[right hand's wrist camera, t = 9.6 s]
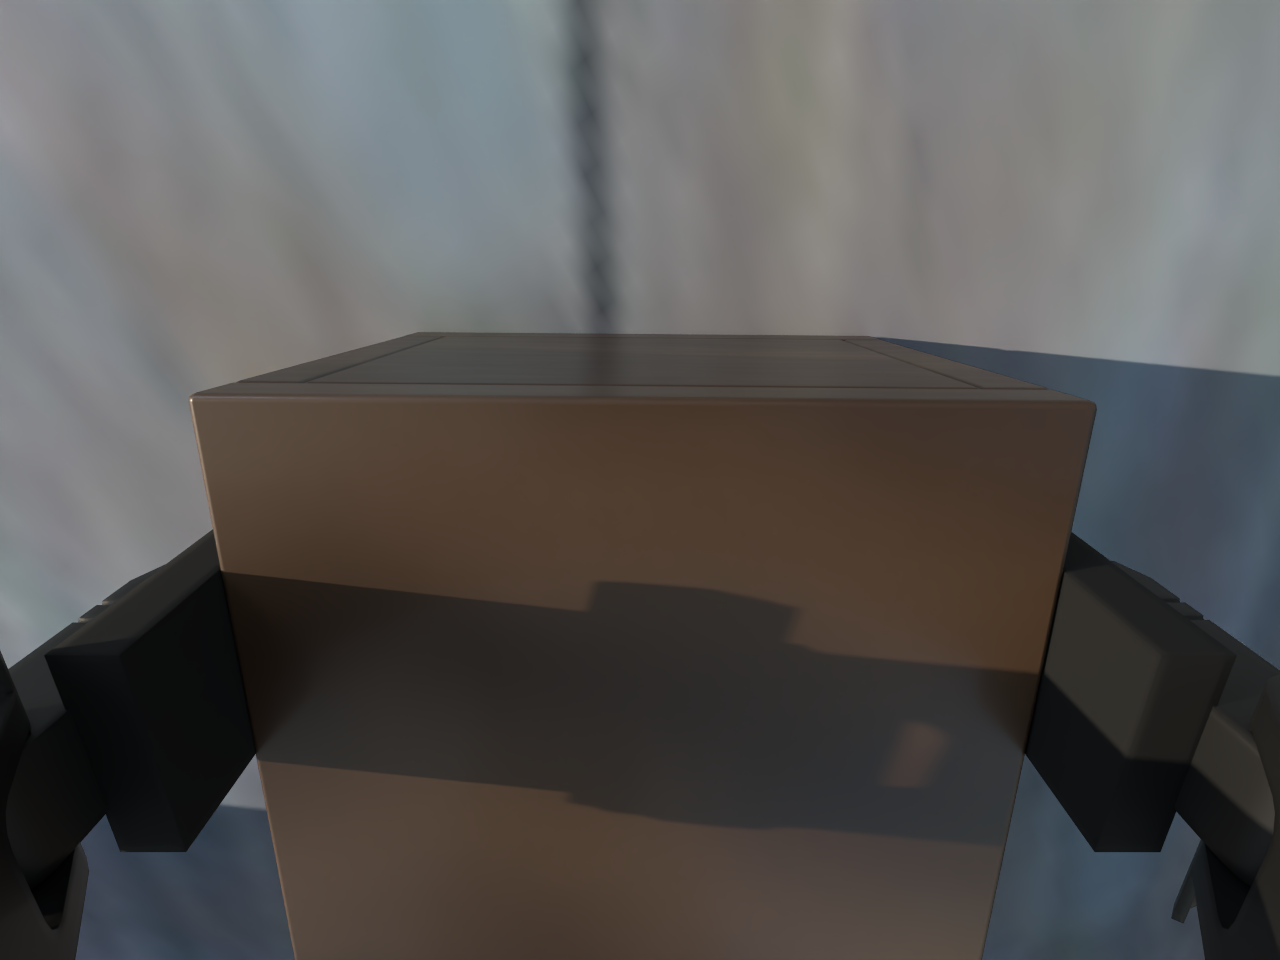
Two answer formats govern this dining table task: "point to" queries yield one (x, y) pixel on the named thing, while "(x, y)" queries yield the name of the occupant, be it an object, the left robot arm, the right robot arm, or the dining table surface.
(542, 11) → the dining table surface
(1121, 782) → the right robot arm
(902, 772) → the cabinet
